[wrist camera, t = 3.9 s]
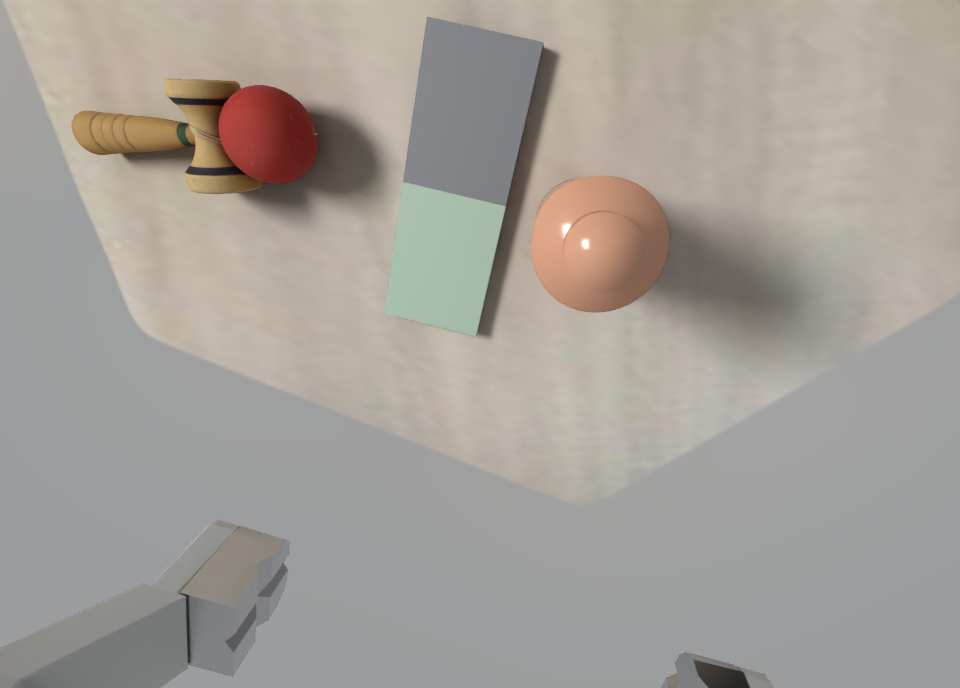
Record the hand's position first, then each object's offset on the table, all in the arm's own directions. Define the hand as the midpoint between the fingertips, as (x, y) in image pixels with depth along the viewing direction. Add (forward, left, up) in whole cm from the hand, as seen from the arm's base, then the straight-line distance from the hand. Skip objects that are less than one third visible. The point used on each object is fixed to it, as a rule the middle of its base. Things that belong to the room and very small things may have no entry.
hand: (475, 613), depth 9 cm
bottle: (-6, +2, -27) cm, 28 cm away
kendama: (-6, -25, -28) cm, 38 cm away
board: (-6, -7, -27) cm, 29 cm away
